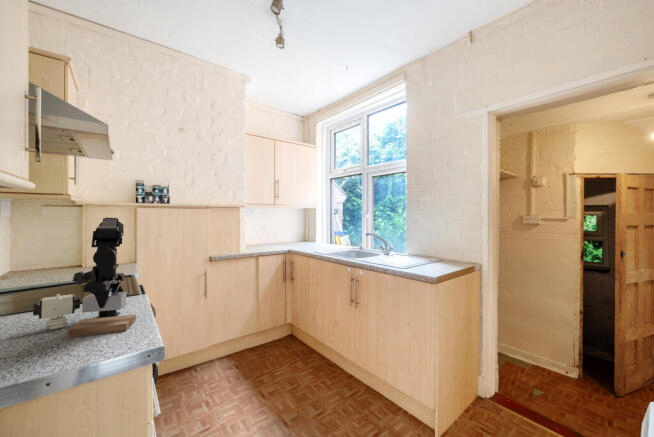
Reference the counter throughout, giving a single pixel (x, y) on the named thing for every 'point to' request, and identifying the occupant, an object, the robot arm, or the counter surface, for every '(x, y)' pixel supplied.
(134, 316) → the walnut stand
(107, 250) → the robot arm
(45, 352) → the counter surface
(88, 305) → the housing
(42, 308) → the pneumatic valve
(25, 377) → the counter surface
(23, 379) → the counter surface
